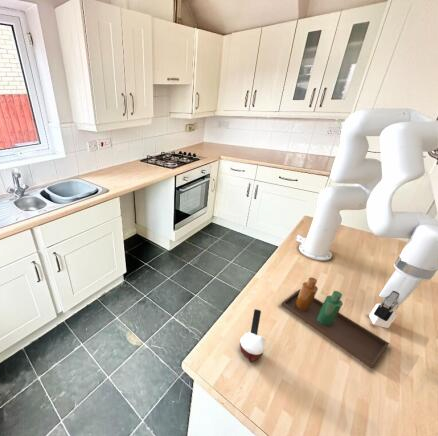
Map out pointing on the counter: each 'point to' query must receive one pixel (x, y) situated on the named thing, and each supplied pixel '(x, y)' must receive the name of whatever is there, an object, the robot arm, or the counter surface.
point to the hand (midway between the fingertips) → (385, 311)
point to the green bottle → (330, 309)
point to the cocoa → (253, 340)
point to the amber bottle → (306, 294)
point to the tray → (341, 332)
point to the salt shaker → (380, 321)
